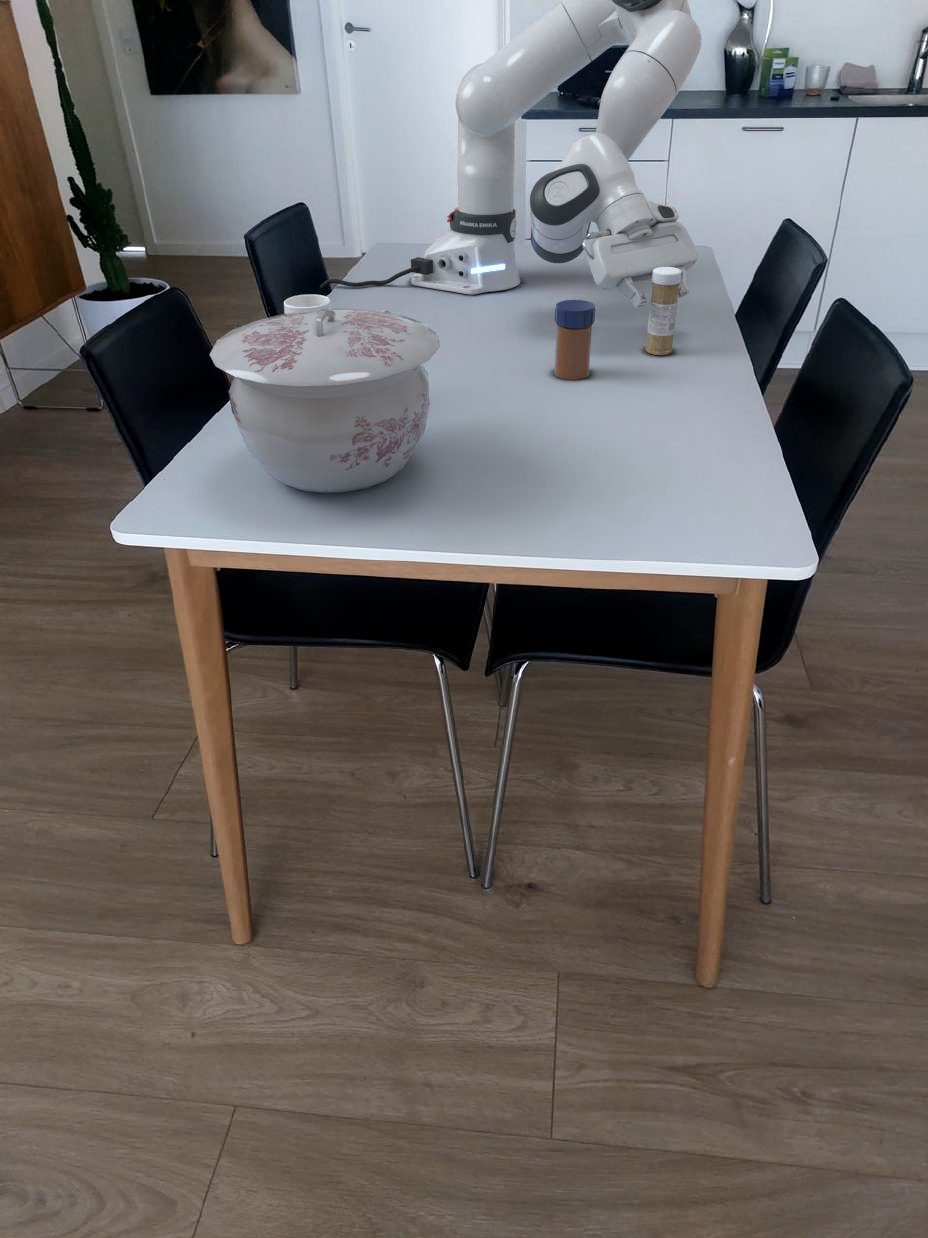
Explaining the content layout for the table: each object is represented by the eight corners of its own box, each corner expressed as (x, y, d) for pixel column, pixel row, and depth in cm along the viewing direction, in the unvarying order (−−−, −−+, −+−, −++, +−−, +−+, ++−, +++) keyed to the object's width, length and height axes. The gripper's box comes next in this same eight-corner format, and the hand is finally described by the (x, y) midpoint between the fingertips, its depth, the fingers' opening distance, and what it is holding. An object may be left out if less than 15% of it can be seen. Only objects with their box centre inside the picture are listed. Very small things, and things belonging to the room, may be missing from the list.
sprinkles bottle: (657, 345, 162) (665, 264, 155) (678, 352, 160) (687, 269, 152) (639, 351, 160) (647, 268, 153) (659, 358, 157) (669, 274, 150)
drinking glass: (347, 396, 145) (339, 296, 136) (327, 412, 139) (317, 309, 131) (307, 391, 146) (296, 292, 138) (286, 407, 141) (274, 305, 133)
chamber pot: (269, 540, 108) (243, 362, 96) (206, 452, 128) (178, 296, 117) (485, 487, 118) (485, 321, 107) (395, 413, 139) (387, 266, 127)
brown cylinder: (550, 377, 150) (553, 311, 144) (559, 366, 155) (562, 301, 149) (584, 381, 149) (588, 314, 143) (592, 370, 153) (597, 304, 147)
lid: (550, 326, 146) (551, 308, 144) (561, 315, 150) (562, 298, 149) (588, 330, 144) (589, 312, 142) (598, 318, 148) (599, 301, 147)
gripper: (588, 222, 150) (624, 300, 148) (683, 206, 159) (718, 279, 157) (569, 246, 155) (604, 321, 154) (662, 229, 164) (695, 300, 163)
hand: (662, 299), depth 156 cm, fingers open, 8 cm apart
